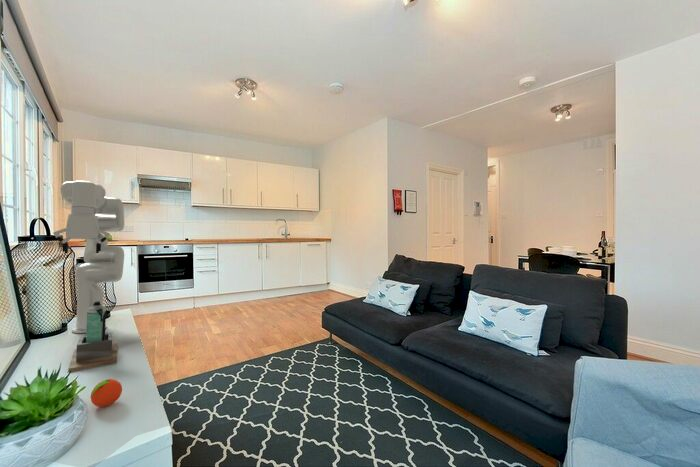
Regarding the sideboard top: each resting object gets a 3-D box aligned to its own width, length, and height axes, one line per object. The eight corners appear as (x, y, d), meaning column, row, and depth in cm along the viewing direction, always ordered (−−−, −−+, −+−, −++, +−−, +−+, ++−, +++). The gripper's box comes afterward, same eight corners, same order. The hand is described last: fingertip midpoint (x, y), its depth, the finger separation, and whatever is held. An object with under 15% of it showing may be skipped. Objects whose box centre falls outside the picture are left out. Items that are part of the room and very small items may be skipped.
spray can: (108, 352, 117) (110, 300, 117) (94, 357, 112) (97, 303, 112) (95, 350, 118) (97, 299, 118) (81, 356, 112) (83, 302, 112)
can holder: (74, 352, 119) (75, 333, 119) (116, 345, 126) (117, 328, 126) (68, 372, 103) (68, 350, 103) (116, 363, 111) (117, 343, 111)
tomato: (100, 416, 80) (101, 389, 80) (78, 412, 81) (80, 386, 81) (127, 400, 88) (128, 375, 88) (107, 397, 89) (108, 372, 89)
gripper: (110, 213, 133) (109, 252, 133) (56, 210, 122) (54, 252, 122) (110, 212, 127) (108, 253, 127) (52, 209, 116) (51, 254, 116)
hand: (82, 253), depth 124 cm, fingers open, 9 cm apart
